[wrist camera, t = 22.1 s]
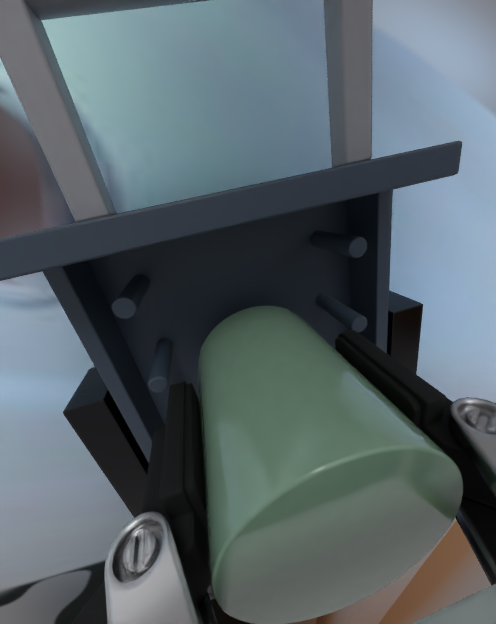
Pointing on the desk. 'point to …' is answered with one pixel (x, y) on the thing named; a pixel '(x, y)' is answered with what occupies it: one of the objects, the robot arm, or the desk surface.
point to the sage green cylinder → (309, 473)
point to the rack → (209, 224)
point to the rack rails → (123, 446)
